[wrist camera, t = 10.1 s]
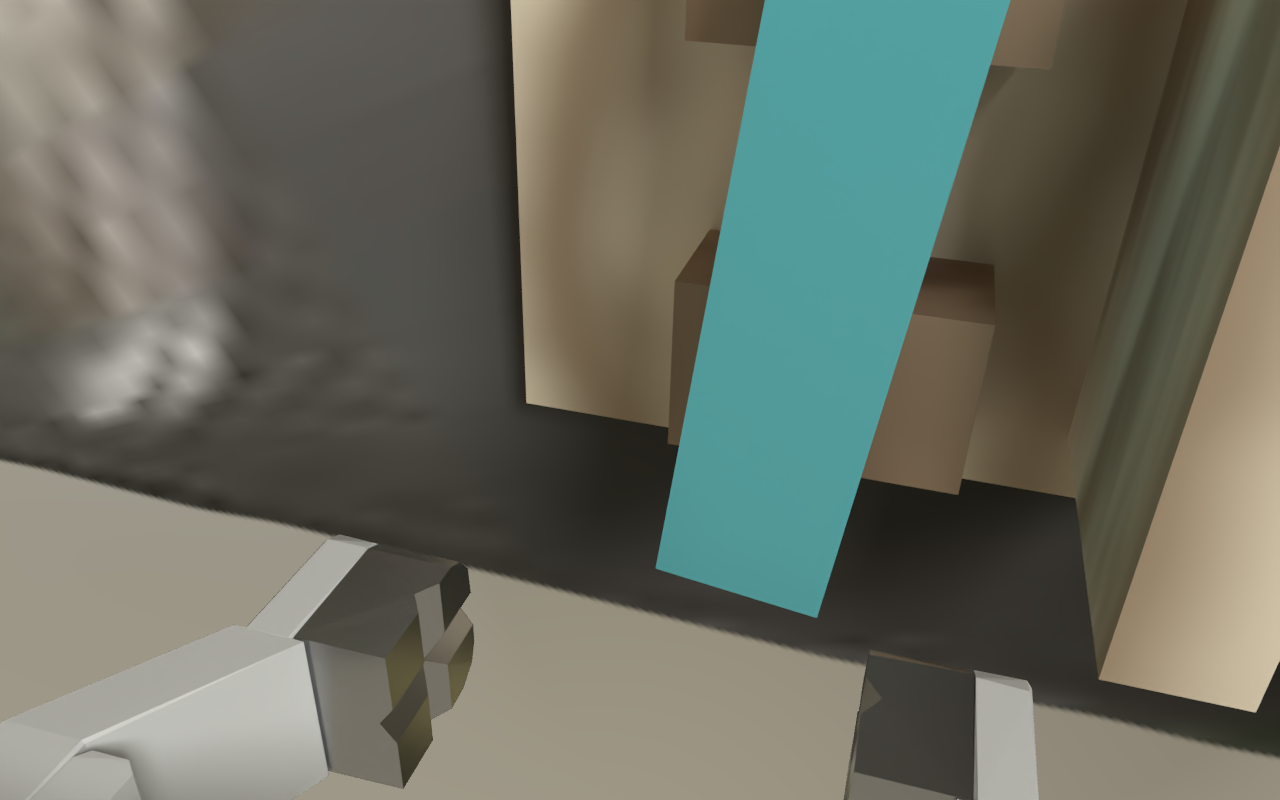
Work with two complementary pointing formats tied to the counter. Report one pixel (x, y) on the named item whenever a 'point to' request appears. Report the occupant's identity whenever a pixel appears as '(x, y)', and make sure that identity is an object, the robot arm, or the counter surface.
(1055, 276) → the stand
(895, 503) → the counter surface
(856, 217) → the teal rectangular block
